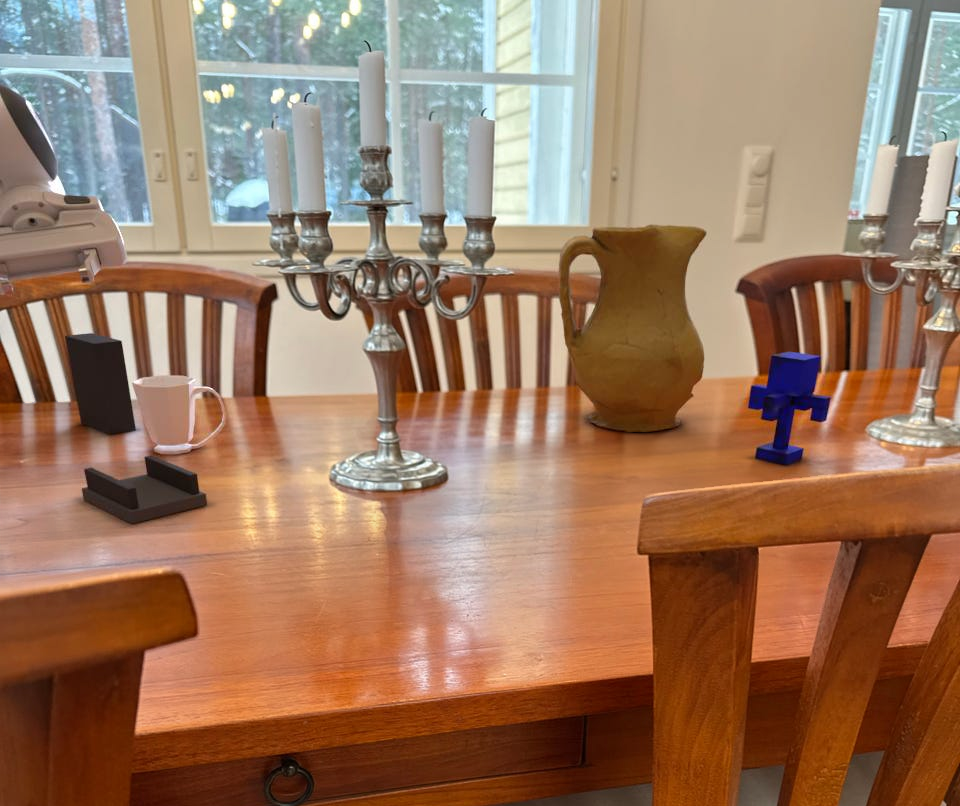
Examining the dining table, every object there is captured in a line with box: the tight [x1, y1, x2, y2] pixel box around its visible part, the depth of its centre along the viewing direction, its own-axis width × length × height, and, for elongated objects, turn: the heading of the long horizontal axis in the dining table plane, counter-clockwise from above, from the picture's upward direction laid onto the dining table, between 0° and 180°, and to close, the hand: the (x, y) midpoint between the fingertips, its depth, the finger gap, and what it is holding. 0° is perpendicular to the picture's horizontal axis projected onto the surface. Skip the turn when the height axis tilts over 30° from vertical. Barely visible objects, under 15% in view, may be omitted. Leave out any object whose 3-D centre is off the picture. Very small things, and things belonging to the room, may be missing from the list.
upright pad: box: [64, 332, 137, 436], centre depth 113 cm, size 4×8×11 cm, turn 47°
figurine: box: [747, 351, 832, 466], centre depth 105 cm, size 8×8×12 cm
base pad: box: [81, 455, 208, 525], centre depth 89 cm, size 8×10×3 cm
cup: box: [131, 374, 227, 455], centre depth 105 cm, size 7×10×8 cm
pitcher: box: [558, 223, 707, 433], centre depth 118 cm, size 17×19×25 cm
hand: (46, 282), depth 109 cm, fingers open, 8 cm apart
